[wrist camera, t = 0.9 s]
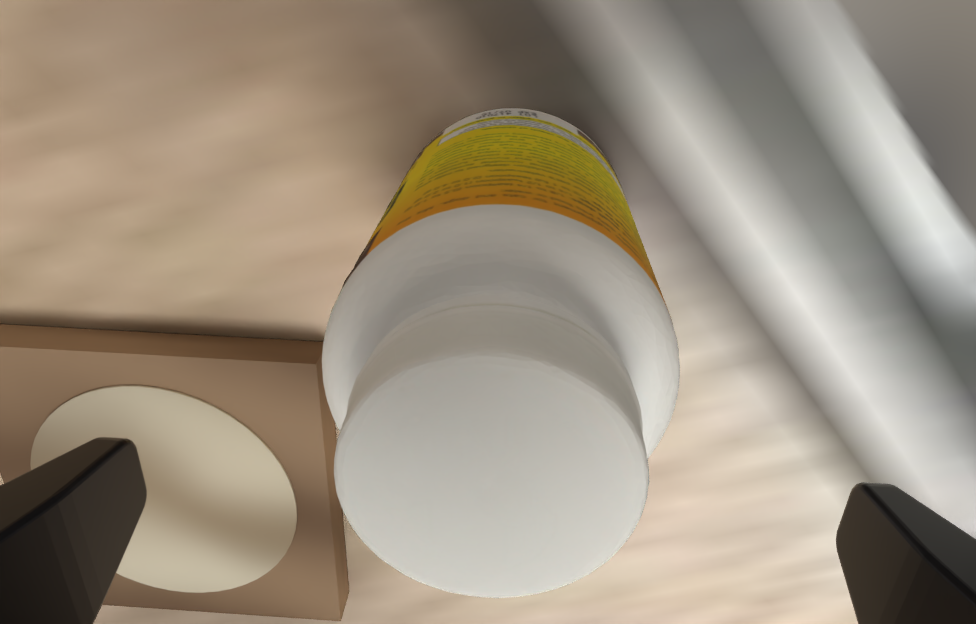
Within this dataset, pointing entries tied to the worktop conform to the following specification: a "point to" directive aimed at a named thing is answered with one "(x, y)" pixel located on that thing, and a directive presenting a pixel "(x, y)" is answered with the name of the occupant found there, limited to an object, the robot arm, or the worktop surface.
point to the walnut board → (194, 460)
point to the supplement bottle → (500, 363)
